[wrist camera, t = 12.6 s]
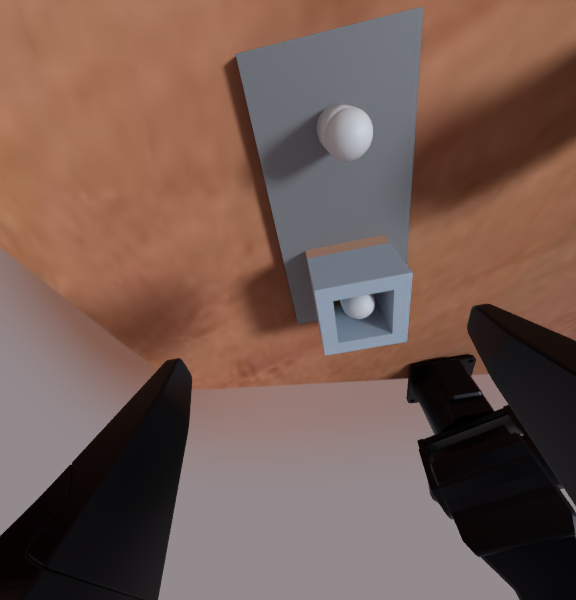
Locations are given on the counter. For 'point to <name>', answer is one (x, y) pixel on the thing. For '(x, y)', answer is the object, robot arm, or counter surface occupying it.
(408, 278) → the sleeve
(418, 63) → the pin board
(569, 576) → the robot arm
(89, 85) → the counter surface
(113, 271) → the counter surface
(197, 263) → the counter surface
